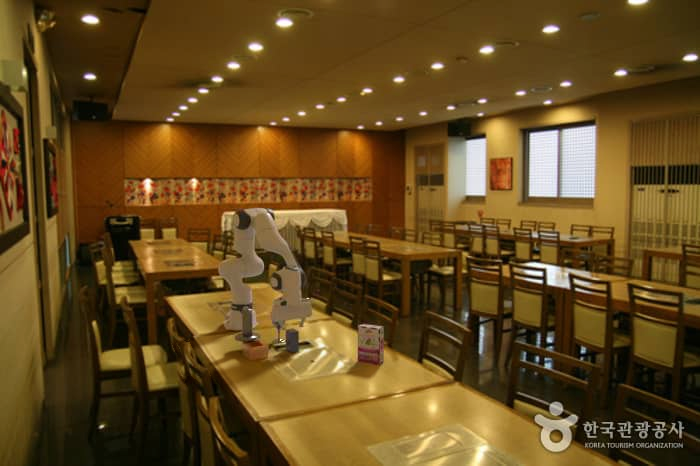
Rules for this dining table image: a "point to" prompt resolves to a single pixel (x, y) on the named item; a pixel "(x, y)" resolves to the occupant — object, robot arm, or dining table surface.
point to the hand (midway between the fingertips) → (292, 328)
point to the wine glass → (278, 331)
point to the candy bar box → (371, 343)
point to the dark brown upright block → (292, 340)
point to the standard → (251, 338)
